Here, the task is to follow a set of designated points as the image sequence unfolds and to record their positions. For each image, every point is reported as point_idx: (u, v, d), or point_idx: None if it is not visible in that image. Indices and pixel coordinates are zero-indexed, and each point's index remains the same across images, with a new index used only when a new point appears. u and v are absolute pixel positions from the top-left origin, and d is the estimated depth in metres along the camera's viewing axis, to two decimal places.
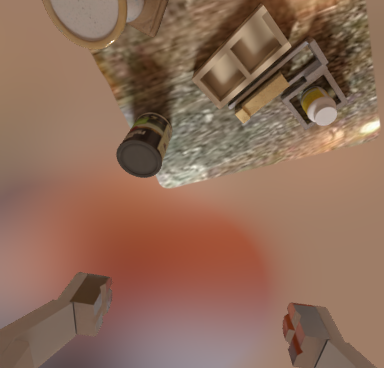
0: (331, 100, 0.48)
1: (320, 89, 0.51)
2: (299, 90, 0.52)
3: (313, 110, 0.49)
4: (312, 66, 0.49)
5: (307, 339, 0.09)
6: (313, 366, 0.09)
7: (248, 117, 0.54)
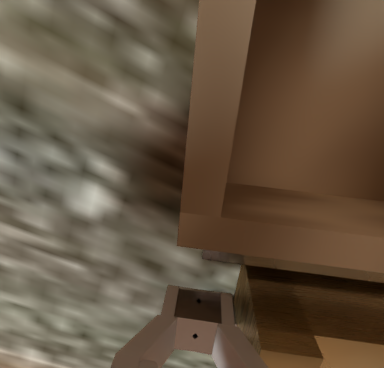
0: None
1: None
2: None
3: None
4: None
5: (200, 323, 0.09)
6: (211, 351, 0.10)
7: None
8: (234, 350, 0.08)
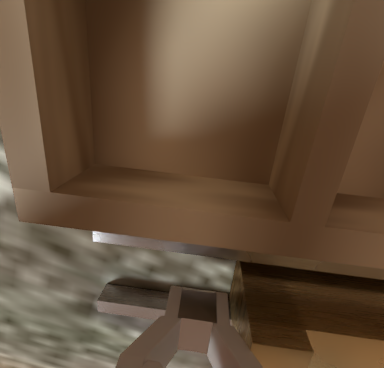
0: None
1: None
2: None
3: None
4: None
5: (195, 323, 0.09)
6: (206, 350, 0.10)
7: None
8: (229, 349, 0.08)
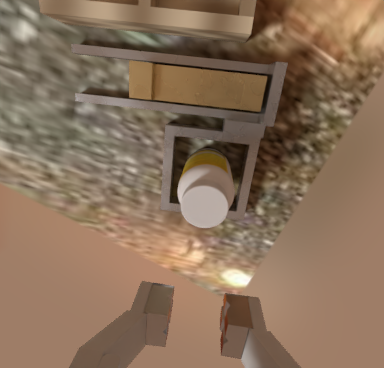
0: (232, 189, 0.22)
1: (227, 163, 0.26)
2: (201, 135, 0.25)
3: (194, 179, 0.21)
4: (245, 117, 0.25)
5: (231, 328, 0.09)
6: (240, 355, 0.10)
7: (148, 94, 0.21)
8: (269, 355, 0.08)
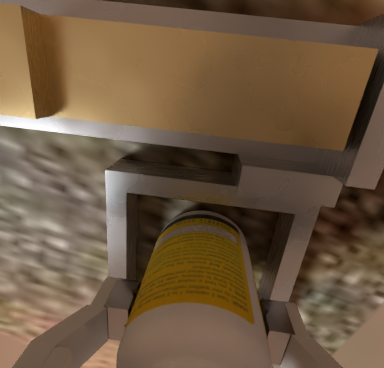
0: None
1: (245, 252, 0.12)
2: (185, 192, 0.11)
3: (156, 360, 0.07)
4: (286, 153, 0.11)
5: (272, 334, 0.09)
6: (279, 361, 0.09)
7: (25, 104, 0.07)
8: (317, 362, 0.08)
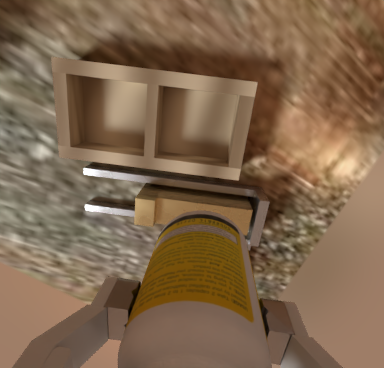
0: None
1: (244, 252, 0.12)
2: None
3: (157, 357, 0.07)
4: None
5: (272, 334, 0.09)
6: (279, 361, 0.09)
7: (150, 222, 0.25)
8: (317, 362, 0.08)
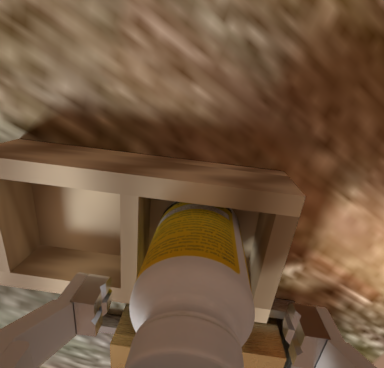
0: (250, 314, 0.09)
1: (236, 227, 0.14)
2: None
3: (162, 297, 0.09)
4: None
5: (307, 339, 0.09)
6: (313, 366, 0.09)
7: None
8: None
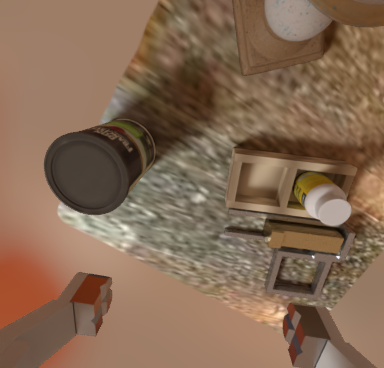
0: (345, 200, 0.33)
1: None
2: (298, 256, 0.44)
3: (322, 194, 0.32)
4: None
5: (307, 339, 0.09)
6: (313, 366, 0.09)
7: (279, 246, 0.40)
8: None
